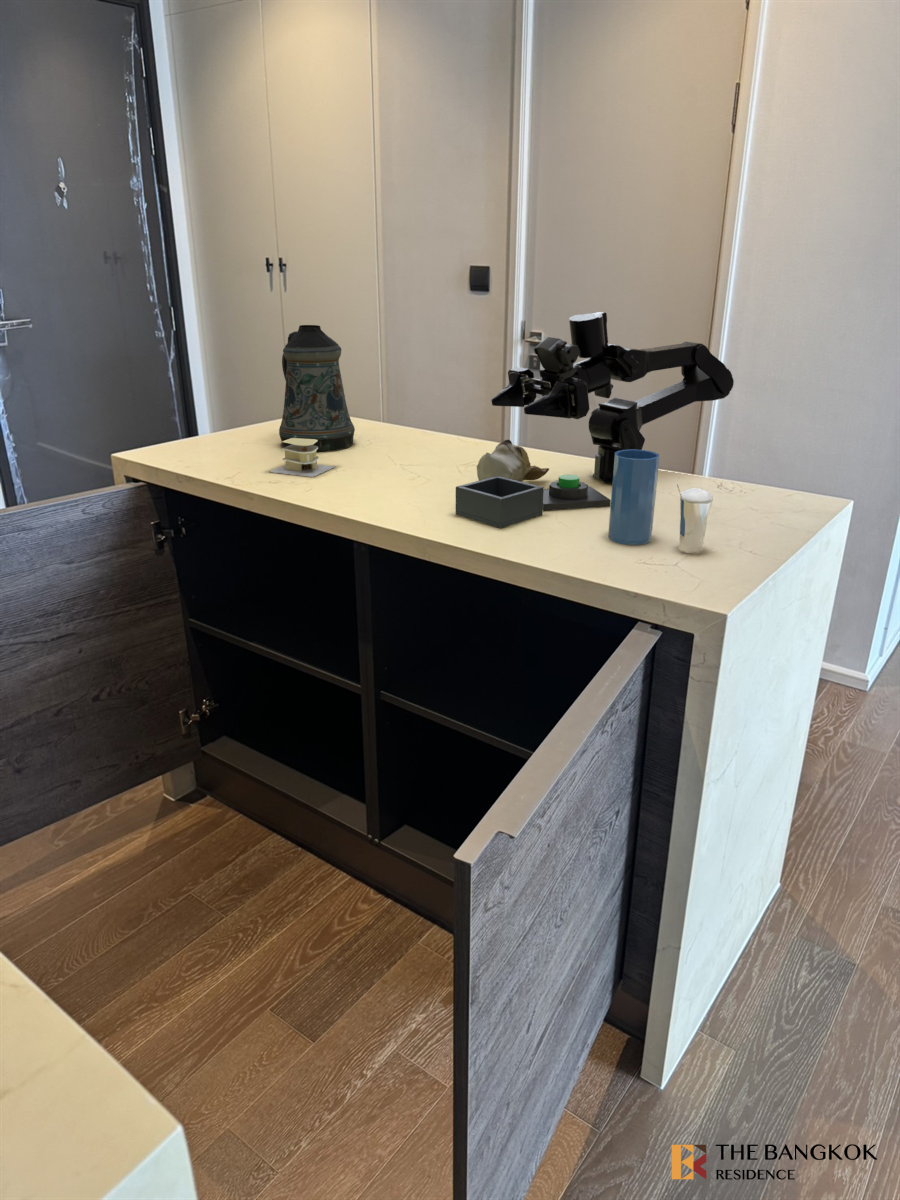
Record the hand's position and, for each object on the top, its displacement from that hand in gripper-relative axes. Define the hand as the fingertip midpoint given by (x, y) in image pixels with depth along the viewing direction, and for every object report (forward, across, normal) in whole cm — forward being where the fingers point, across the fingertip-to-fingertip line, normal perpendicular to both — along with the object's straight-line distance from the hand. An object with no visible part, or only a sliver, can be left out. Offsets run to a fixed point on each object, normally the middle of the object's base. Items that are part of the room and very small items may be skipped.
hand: (508, 406), depth 145 cm
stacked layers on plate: (+24, -38, +12) cm, 47 cm away
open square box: (+10, +7, +14) cm, 19 cm away
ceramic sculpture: (-3, -8, +17) cm, 19 cm away
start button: (-6, +7, +15) cm, 17 cm away
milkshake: (-3, +36, +17) cm, 40 cm away
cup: (0, +27, +16) cm, 32 cm away
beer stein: (+13, -59, +14) cm, 62 cm away
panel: (-5, +7, +18) cm, 19 cm away
